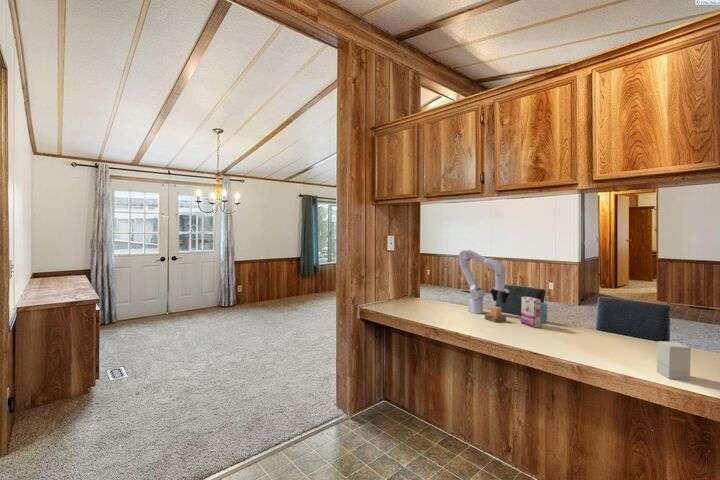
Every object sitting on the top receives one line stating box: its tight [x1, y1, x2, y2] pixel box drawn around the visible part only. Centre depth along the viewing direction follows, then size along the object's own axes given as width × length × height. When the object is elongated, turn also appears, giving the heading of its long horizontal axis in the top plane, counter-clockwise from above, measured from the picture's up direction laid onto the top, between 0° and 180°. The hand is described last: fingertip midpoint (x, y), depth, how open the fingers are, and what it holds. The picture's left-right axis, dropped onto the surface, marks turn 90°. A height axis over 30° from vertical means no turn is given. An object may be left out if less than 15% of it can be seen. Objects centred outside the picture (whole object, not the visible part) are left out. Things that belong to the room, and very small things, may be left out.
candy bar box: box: [520, 296, 542, 328], centre depth 210 cm, size 11×5×16 cm, turn 16°
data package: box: [541, 301, 548, 324], centre depth 220 cm, size 12×4×12 cm, turn 36°
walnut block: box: [484, 313, 507, 323], centre depth 222 cm, size 9×9×4 cm
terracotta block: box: [490, 306, 502, 317], centre depth 222 cm, size 4×4×5 cm
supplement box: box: [656, 340, 692, 381], centre depth 137 cm, size 7×7×13 cm
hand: (499, 302), depth 232 cm, fingers open, 7 cm apart
